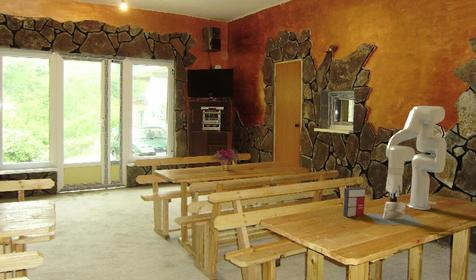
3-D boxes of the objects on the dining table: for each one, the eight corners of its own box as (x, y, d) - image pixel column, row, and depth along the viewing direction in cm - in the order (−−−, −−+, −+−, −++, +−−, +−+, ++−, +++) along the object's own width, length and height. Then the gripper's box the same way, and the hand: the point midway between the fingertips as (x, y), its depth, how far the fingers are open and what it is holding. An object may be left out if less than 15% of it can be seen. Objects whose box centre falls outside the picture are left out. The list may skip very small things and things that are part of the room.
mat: (408, 216, 225) (408, 214, 225) (425, 227, 207) (425, 225, 206) (364, 214, 225) (364, 213, 225) (377, 225, 206) (377, 223, 206)
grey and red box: (347, 217, 218) (349, 189, 216) (342, 215, 222) (344, 187, 220) (364, 216, 222) (366, 188, 220) (359, 214, 226) (361, 187, 224)
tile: (401, 217, 218) (404, 202, 215) (402, 219, 216) (406, 204, 213) (382, 216, 218) (385, 201, 214) (383, 218, 216) (386, 203, 213)
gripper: (383, 168, 223) (380, 202, 224) (394, 173, 208) (391, 209, 210) (397, 169, 223) (394, 202, 225) (409, 174, 208) (406, 210, 210)
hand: (392, 205), depth 217 cm, fingers closed
